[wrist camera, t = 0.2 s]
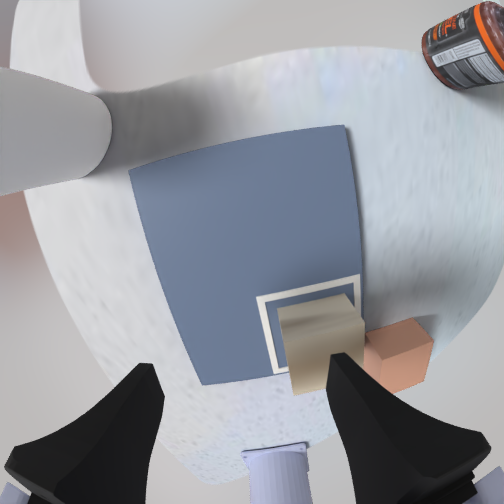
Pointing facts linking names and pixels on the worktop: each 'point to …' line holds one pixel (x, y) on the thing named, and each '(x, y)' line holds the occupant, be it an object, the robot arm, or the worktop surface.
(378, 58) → the worktop surface
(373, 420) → the robot arm
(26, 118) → the can
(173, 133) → the worktop surface
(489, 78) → the supplement bottle
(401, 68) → the worktop surface
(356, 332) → the cream block
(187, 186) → the board
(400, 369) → the terracotta block
